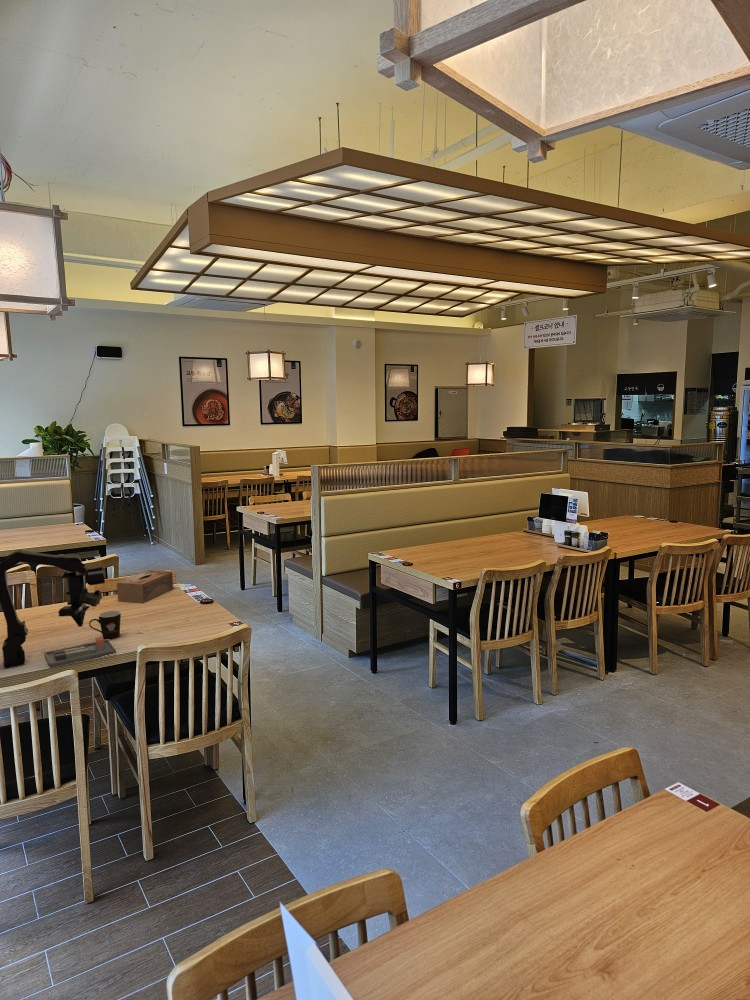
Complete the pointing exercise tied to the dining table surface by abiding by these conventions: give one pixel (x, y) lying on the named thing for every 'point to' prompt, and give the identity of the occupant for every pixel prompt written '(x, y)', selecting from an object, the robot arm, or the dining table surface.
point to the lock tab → (99, 641)
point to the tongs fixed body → (79, 652)
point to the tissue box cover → (144, 586)
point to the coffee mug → (109, 624)
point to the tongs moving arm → (68, 650)
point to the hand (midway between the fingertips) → (80, 626)
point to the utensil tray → (52, 663)
